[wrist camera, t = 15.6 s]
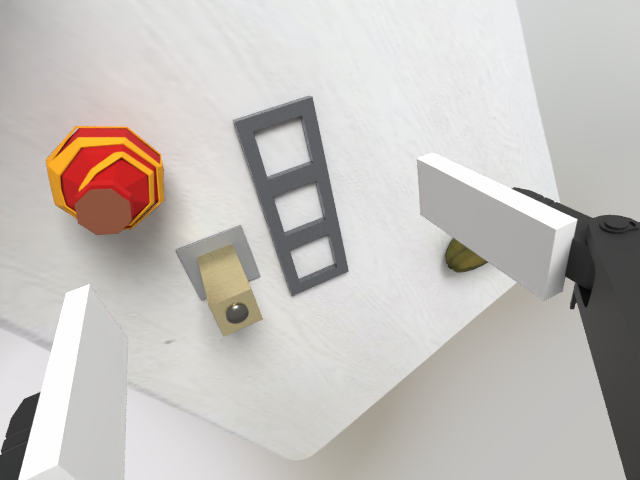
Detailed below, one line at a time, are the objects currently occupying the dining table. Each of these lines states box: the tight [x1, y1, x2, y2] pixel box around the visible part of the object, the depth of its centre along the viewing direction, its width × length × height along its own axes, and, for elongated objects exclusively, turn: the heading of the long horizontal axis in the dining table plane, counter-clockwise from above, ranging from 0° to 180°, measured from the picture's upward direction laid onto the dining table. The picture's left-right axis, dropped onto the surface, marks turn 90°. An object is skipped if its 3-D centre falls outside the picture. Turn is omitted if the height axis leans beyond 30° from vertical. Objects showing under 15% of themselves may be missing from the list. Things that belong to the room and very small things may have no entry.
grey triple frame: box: [233, 96, 348, 296], centre depth 54 cm, size 10×28×1 cm, turn 12°
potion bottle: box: [46, 126, 164, 235], centre depth 37 cm, size 10×10×15 cm
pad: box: [176, 225, 260, 301], centre depth 54 cm, size 9×9×1 cm
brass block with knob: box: [197, 244, 263, 336], centre depth 50 cm, size 5×5×11 cm
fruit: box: [446, 238, 488, 272], centre depth 70 cm, size 11×12×7 cm
